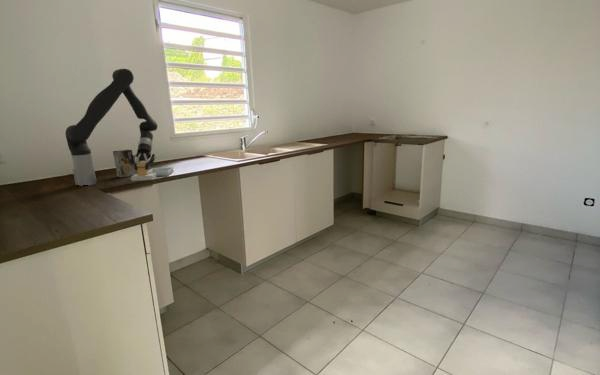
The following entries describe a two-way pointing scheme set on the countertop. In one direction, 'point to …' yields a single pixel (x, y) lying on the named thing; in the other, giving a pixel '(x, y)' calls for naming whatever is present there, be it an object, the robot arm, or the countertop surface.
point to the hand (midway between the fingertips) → (141, 169)
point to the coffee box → (124, 163)
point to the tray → (161, 171)
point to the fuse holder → (143, 177)
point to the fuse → (141, 168)
